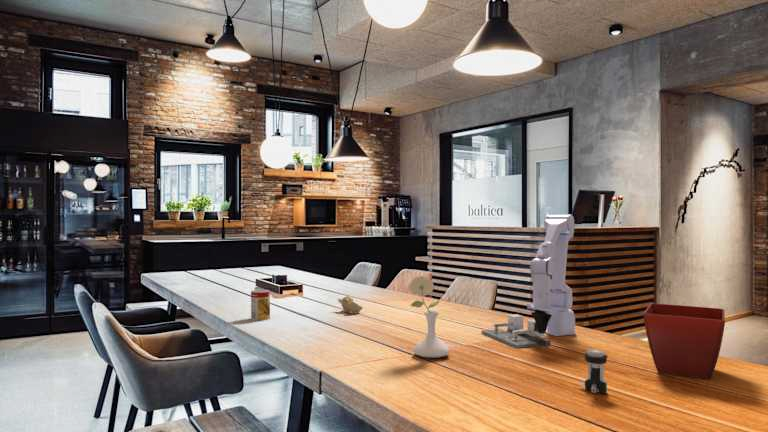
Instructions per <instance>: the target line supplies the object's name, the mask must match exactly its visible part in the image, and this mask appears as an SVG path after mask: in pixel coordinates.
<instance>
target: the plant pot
mask: <svg viewBox="0 0 768 432" xmlns="http://www.w3.org/2000/svg"><path fill="white" fill-rule="evenodd" d="M643 321H644V322H643V323H644V329H645V332H646V337H647V343H648V347H649V349H650V353H651V356H652V360H653V363H654V366H655V369H656V370H657V373H663V374H669V375H676V376H685V377H692V378H697V379H698V378H699V379H707V380H709V379H712V377H713V375H714V372H715V368H716V366H717V362H718V360H719V356H720V352H721V348H722V342H723V337H724V331H725V325H726V316H725V309H724V308H719V307H718V308H717V307H706V306H694V305H693V306H692V305H691V306H690V305H682V304H679V305H678V304H669V303H667V304H665V303H656V302H654V303H650V304H649V305H648V307H646V308H645V310H644V311H643Z"/></svg>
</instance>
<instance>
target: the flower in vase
mask: <svg viewBox="0 0 768 432" xmlns="http://www.w3.org/2000/svg"><path fill="white" fill-rule="evenodd" d="M408 288H409V290H410V293H411V294H412V295H414V296H416V295H417V296H418V297H421V299H422V301H421V300H415V301H413V302H411V304H410V307H415V308H422V307H423V305H424V306H425V309H426V310H425V311H423V313H422V314H424V315H425V318H426V322H427V333H426V336H425V337H424V338H423V339H422V340H421V341H420V342H419V343H418V342H417V344H416V345H415V346H414V348H413V352H414V354H415V355H418V356H419V357H423V358H429V359H430V358H431V359H437V358H441V357H442V358H443V357H445V356H448V355H449V353H450V351H451V350H450V348H449V347H448V345H447V344H446V343H444V342H443V341H442V340H441V339H440V338H439V337H438V336H437V334H436V320H437V317H438V316H439V314H440V311H438V310H430V308H434V307H436V306H437V305H438V304H439V302H440V300H439V299H438V300H437V301H434V302H432V303H430V304H429V305H428V306H427V305H426V303H425V300H424V297H425V296H427V295H431V294H432V292H433V291H434V289H435V285H434V282H433V280H432V278H428V276H424V275H421V276H419V275H418V276H416V277H415V278H413V279H411V282H410V283H409V285H408Z"/></svg>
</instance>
